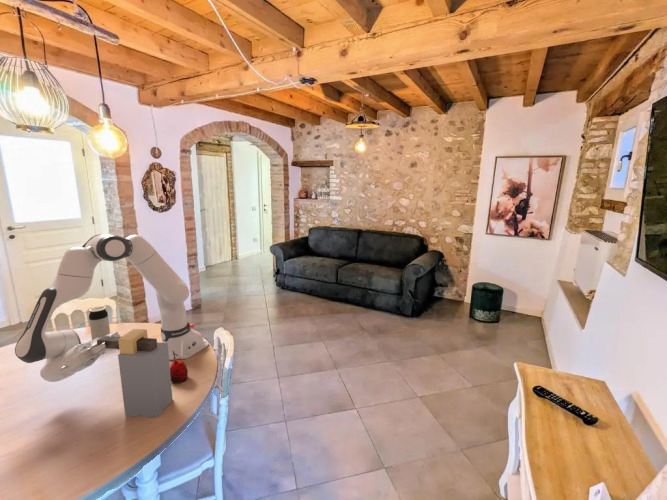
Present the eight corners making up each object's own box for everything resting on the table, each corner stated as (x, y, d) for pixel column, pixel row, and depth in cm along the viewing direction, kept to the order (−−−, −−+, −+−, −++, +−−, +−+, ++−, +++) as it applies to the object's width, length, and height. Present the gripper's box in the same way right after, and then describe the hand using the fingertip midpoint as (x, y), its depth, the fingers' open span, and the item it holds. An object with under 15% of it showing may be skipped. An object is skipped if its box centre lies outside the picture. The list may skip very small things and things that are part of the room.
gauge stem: (97, 347, 116) (96, 340, 115) (105, 343, 119) (104, 335, 118) (151, 351, 114) (150, 343, 114) (157, 346, 118) (156, 338, 117)
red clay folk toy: (191, 376, 141) (189, 345, 138) (180, 386, 134) (178, 353, 131) (177, 373, 143) (174, 342, 139) (165, 383, 136) (162, 350, 133)
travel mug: (112, 340, 171) (108, 308, 167) (94, 345, 165) (90, 312, 161) (108, 335, 176) (104, 304, 172) (90, 340, 170) (86, 308, 166)
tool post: (125, 415, 117) (116, 340, 111) (143, 397, 126) (135, 327, 120) (157, 417, 116) (149, 342, 110) (172, 399, 126) (166, 329, 120)
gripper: (50, 365, 108) (81, 348, 106) (98, 336, 128) (125, 322, 126) (61, 380, 109) (92, 363, 107) (107, 349, 129) (134, 335, 127)
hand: (110, 341), depth 117 cm, fingers closed on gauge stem, 3 cm apart
